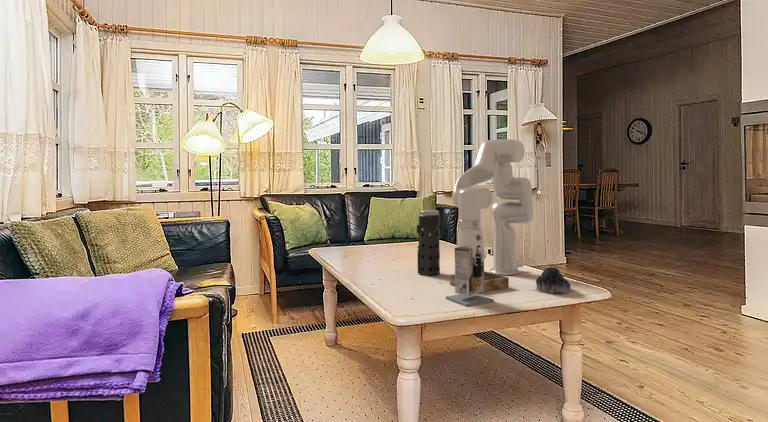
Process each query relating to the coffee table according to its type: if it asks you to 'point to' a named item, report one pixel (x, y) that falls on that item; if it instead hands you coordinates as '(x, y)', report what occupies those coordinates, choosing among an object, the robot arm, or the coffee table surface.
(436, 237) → the muzzle brake
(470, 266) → the coffee box
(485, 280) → the corral
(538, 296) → the coffee table surface
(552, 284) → the crystal cluster
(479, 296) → the mat
